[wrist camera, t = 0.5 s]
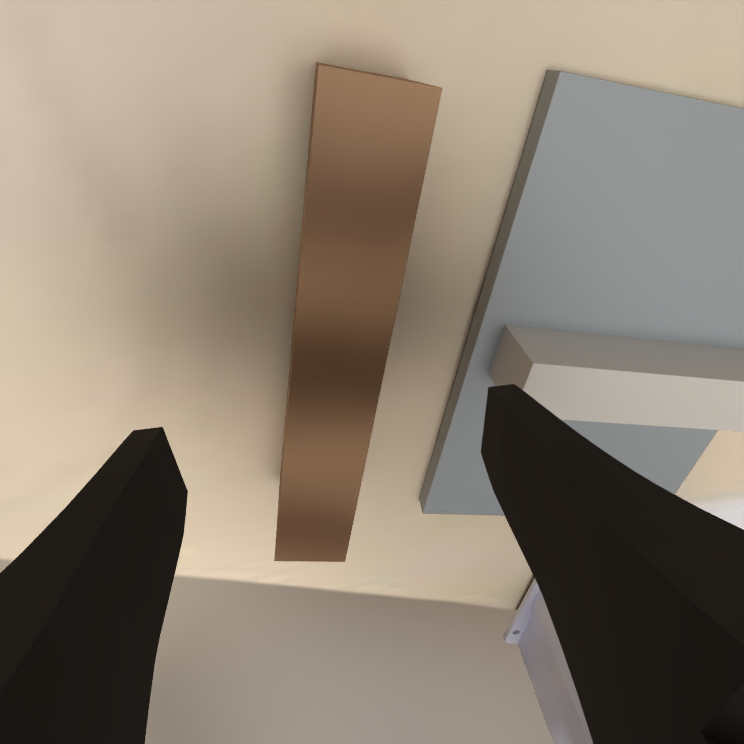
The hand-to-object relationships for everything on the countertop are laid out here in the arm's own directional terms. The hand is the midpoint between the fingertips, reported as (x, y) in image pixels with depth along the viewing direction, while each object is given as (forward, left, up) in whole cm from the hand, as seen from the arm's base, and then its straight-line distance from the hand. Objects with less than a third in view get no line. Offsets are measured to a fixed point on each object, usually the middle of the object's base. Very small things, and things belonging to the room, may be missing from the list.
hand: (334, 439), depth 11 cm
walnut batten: (-2, -1, -10) cm, 10 cm away
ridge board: (-2, -14, -10) cm, 17 cm away
